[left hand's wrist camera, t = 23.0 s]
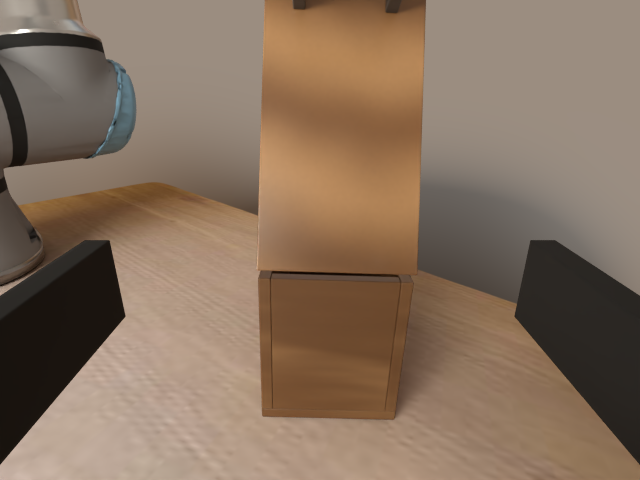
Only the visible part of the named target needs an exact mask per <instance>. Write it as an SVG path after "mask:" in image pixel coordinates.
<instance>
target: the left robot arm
mask: <svg viewBox="0 0 640 480" xmlns="http://www.w3.org/2000/svg"><path fill="white" fill-rule="evenodd" d="M124 318H125V312H124V307H123V302H122V298H121V293H120V288H119V283H118V279H117V274H116V269H115V264H114V260H113V255H112V250H111V245H110V241H109V240H85V241H83V242H82V243H80V244H79V245H77V246H75V247H74V248H72V249H71V250H69V251H68V252H66V253H65V254H63V255H62V256H60V257H59V258H57V259H56V260H54V261H53V262H51V263H50V264H48V265H47V266H45V267H43V268H42V269H40V270H39V271H37V272H36V273H34V274H33V275H31V276H30V277H28V278H27V279H25V280H24V281H22V282H21V283H19V284H18V285H16V286H14V287H13V288H11V289H10V290H8V291H7V292H5V293H4V294H2V295H1V296H0V464H1V463H2V462H3V461H4V460H5V458H6V457H7V456H8V455H9V454H10V452H11V451H12V450H13V449H14V448H15V447H16V445H17V444H18V443H19V442H20V441H21V439H22V438H23V437H24V436H25V435H26V434H27V432H28V431H29V430H30V429H31V428H32V426H33V425H34V424H35V423H36V422H37V420H38V419H39V418H40V417H41V416H42V415H43V413H44V412H45V411H46V410H47V409H48V407H49V406H50V405H51V404H52V403H53V402H54V400H55V399H56V398H57V397H58V396H59V394H60V393H61V392H62V391H63V390H64V389H65V387H66V386H67V385H68V384H69V383H70V381H71V380H72V379H73V378H74V377H75V376H76V374H77V373H78V372H79V371H80V370H81V368H82V367H83V366H84V365H85V364H86V363H87V361H88V360H89V359H90V358H91V357H92V355H93V354H94V353H95V352H96V351H97V349H98V348H99V347H100V346H101V345H102V344H103V342H104V341H105V340H106V339H107V338H108V336H109V335H110V334H111V333H112V332H113V331H114V329H115V328H116V327H117V326H118V325H119V323H120V322H121V321H122V320H123V319H124ZM515 318H516V319H517V320H518V321H519V322H520V323H521V325H522V326H523V327H524V328H525V329H526V331H527V332H528V333H529V334H530V335H531V336H532V338H533V339H534V340H535V341H536V342H537V344H538V345H539V346H540V347H541V348H542V349H543V351H544V352H545V353H546V354H547V355H548V357H549V358H550V359H551V360H552V361H553V363H554V364H555V365H556V366H557V367H558V368H559V370H560V371H561V372H562V373H563V374H564V376H565V377H566V378H567V379H568V380H569V381H570V383H571V384H572V385H573V386H574V387H575V389H576V390H577V391H578V392H579V393H580V394H581V396H582V397H583V398H584V399H585V400H586V402H587V403H588V404H589V405H590V406H591V407H592V409H593V410H594V411H595V412H596V413H597V415H598V416H599V417H600V418H601V419H602V420H603V422H604V423H605V424H606V425H607V426H608V428H609V429H610V430H611V431H612V432H613V434H614V435H615V436H616V437H617V438H618V439H619V441H620V442H621V443H622V444H623V445H624V447H625V448H626V449H627V450H628V451H629V452H630V454H631V455H632V456H633V457H634V458H635V460H636V461H637V462H638V463H639V464H640V296H639V295H638V294H636V293H635V292H633V291H632V290H630V289H629V288H627V287H626V286H624V285H622V284H621V283H619V282H618V281H616V280H615V279H613V278H612V277H610V276H609V275H607V274H606V273H604V272H603V271H601V270H600V269H598V268H597V267H595V266H593V265H592V264H590V263H589V262H587V261H586V260H584V259H583V258H581V257H580V256H578V255H577V254H575V253H574V252H572V251H571V250H569V249H567V248H566V247H564V246H563V245H561V244H560V243H558V242H557V241H555V240H531V241H530V245H529V250H528V255H527V260H526V264H525V269H524V274H523V279H522V283H521V288H520V293H519V298H518V302H517V307H516V312H515Z"/></svg>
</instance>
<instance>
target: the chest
mask: <svg viewBox="0 0 640 480" xmlns="http://www.w3.org/2000/svg"><path fill="white" fill-rule="evenodd" d="M413 284H414V283H413V281H412V279H411V277H410V275H394V274H361V273H327V272H293V271H260V275H259V278H258V290H259V324H260V358H261V391H262V416H270V417H311V418H352V419H394V417H395V410H396V403H397V396H398V389H399V382H400V375H401V368H402V361H403V354H404V347H405V340H406V333H407V326H408V319H409V312H410V305H411V298H412V291H413Z"/></svg>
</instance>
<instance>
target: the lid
mask: <svg viewBox="0 0 640 480" xmlns="http://www.w3.org/2000/svg"><path fill="white" fill-rule="evenodd" d="M425 12H426V0H265V10H264V43H263V44H264V45H263V76H262V110H261V141H260V175H259V207H258V239H257V270H260V271H293V272H327V273H361V274H394V275H417V266H418V234H419V202H420V171H421V139H422V107H423V76H424V44H425Z"/></svg>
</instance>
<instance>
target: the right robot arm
mask: <svg viewBox="0 0 640 480" xmlns="http://www.w3.org/2000/svg"><path fill="white" fill-rule="evenodd" d="M135 121H136V98H135V93H134V88H133V85H132V82H131V79H130V77H129V76H128V75H127V74H126V70H125V69H124V68H123V67H122V66H121V65H120V64H119V63H116V62H114V61H113V60H109V59H106V58H105V54H104V50H103V46H102V42H101V40H100V39H99V38H98V37H97V36H96V35H94V34H93V33H92V32H91V31H89V30H88V29H87V28H86V27H85V26H84V25H83V22H82V17H81V14H80V10H79V6H78V2H77V0H0V285H1V284H4V283H7V282H9V281H11V280H14V279H16V278H18V277H20V276H22V275H24V274H26V273H27V272H29V271H31V270H32V269H33V268H35V267H36V266H37V265H38V264H40V263H41V261H42V260H43V259H44V256H45V251H44V247H43V244H42V241H43V240H42V237H41V234H40V233H39V232H38V231H37V229H36V228H35V229H34V228H33V226H32V225H31V223H30V222H29V221H28V219H27V218H26V217H25V215H24V214H23V212H22V211H21V210H20V208H19V207H18V206H17V204H16V203H15V201H14V200H13V199H12V197H11V195H10V193H9V191H8V188H7V184H6V180H5V177H4V171H3V169H4V168H7V167H14V166H24V165H32V164H40V163H48V162H56V161H64V160H72V159H80V158H85V159H88V158H94V157H96V156H99V155H104V154H110V153H115V152H117V151H119V150H121V149H122V148H123V147H124V146H125V145H126V144H127V143H128V141H129V140H130V138H131V134H132V132H133V130H134V127H135ZM35 230H36V231H35ZM41 240H42V241H41Z"/></svg>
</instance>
